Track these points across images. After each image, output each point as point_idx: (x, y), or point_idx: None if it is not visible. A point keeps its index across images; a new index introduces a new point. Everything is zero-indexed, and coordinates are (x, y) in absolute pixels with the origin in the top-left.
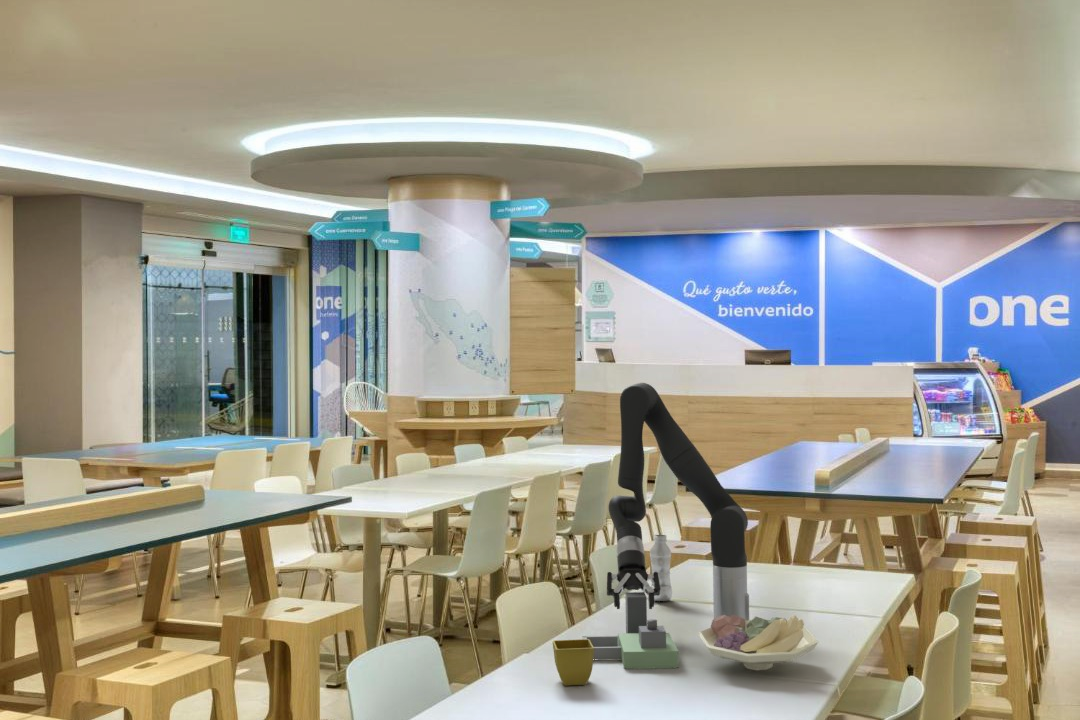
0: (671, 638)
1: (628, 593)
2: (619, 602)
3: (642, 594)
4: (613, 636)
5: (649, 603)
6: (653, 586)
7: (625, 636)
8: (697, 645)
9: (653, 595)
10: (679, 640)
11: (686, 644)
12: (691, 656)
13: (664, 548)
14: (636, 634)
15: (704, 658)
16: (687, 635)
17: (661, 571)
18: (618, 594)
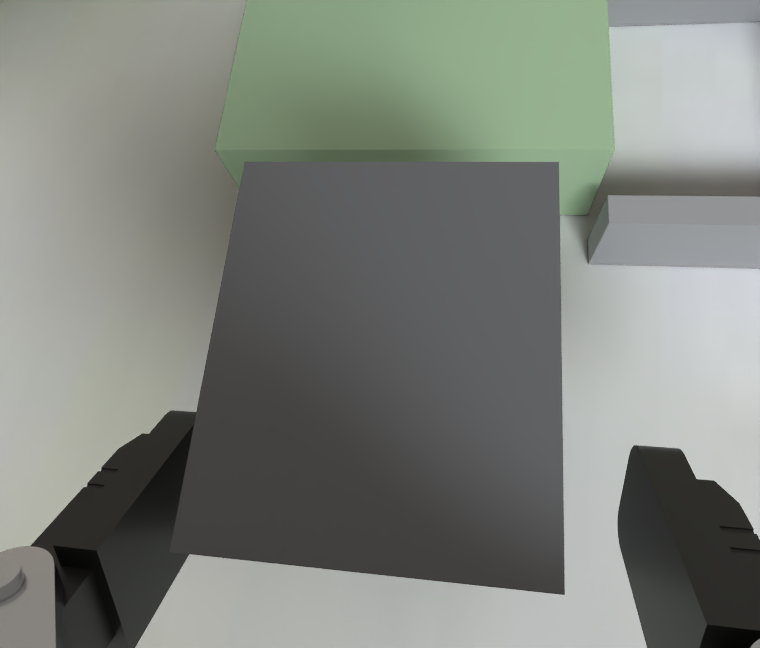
0: (244, 17)
1: (505, 478)
2: (651, 464)
3: (256, 349)
4: (644, 199)
5: None
6: None
7: (558, 70)
8: (65, 265)
9: (45, 537)
10: (123, 401)
11: (119, 294)
12: (186, 59)
13: None
14: (464, 118)
15: (137, 27)
16: (14, 542)
17: None
18: (715, 601)
